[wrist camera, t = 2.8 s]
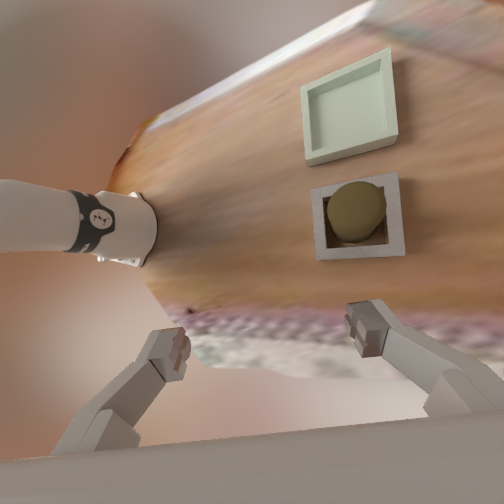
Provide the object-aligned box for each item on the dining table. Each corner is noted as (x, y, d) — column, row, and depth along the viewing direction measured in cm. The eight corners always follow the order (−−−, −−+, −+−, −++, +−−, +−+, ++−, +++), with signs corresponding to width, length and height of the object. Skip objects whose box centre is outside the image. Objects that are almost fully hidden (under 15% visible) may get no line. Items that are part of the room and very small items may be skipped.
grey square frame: (318, 259, 30) (315, 260, 27) (313, 194, 30) (310, 189, 28) (400, 255, 25) (405, 255, 23) (393, 178, 25) (397, 170, 23)
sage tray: (308, 166, 30) (305, 160, 28) (303, 99, 31) (299, 87, 28) (394, 144, 25) (398, 134, 23) (386, 64, 26) (390, 46, 24)
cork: (358, 191, 27) (363, 157, 17) (388, 224, 26) (414, 207, 16) (321, 219, 29) (308, 202, 20) (347, 251, 28) (347, 250, 18)
